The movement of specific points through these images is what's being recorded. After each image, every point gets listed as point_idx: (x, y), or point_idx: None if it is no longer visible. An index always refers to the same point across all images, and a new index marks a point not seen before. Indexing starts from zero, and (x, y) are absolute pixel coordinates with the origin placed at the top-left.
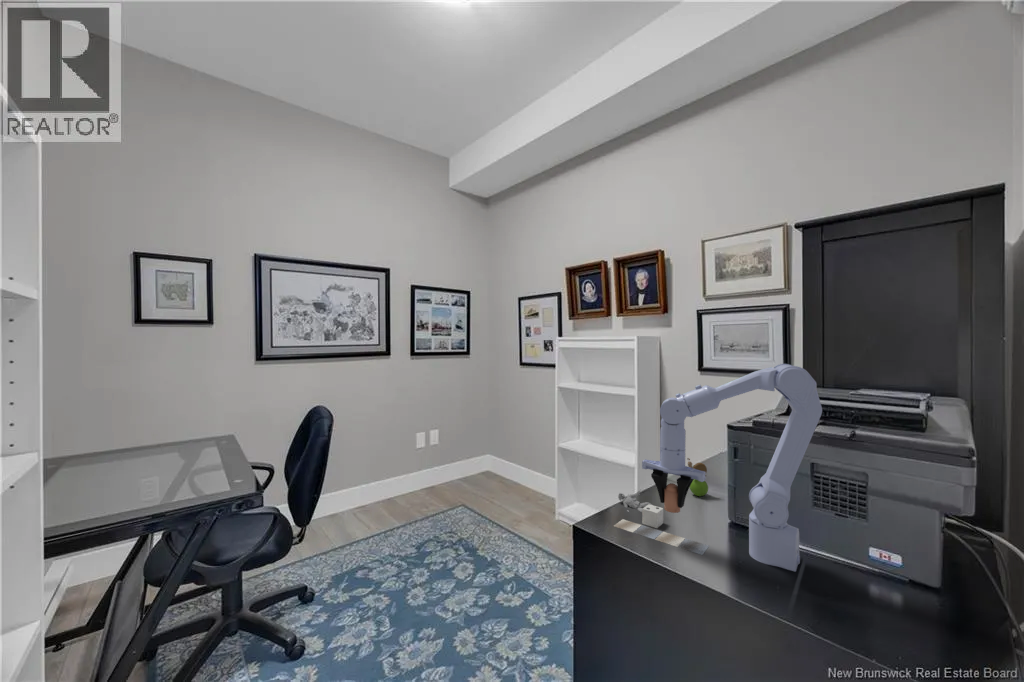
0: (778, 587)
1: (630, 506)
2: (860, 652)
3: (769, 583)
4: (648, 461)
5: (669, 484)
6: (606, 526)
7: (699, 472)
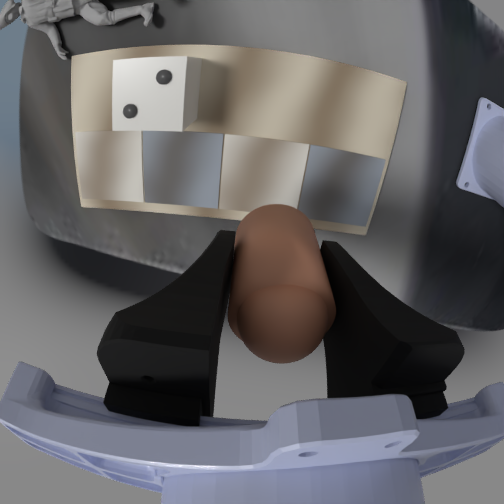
0: (480, 253)
1: (55, 21)
2: (493, 328)
3: (472, 248)
4: (52, 451)
5: (265, 358)
6: (66, 187)
7: (480, 446)
